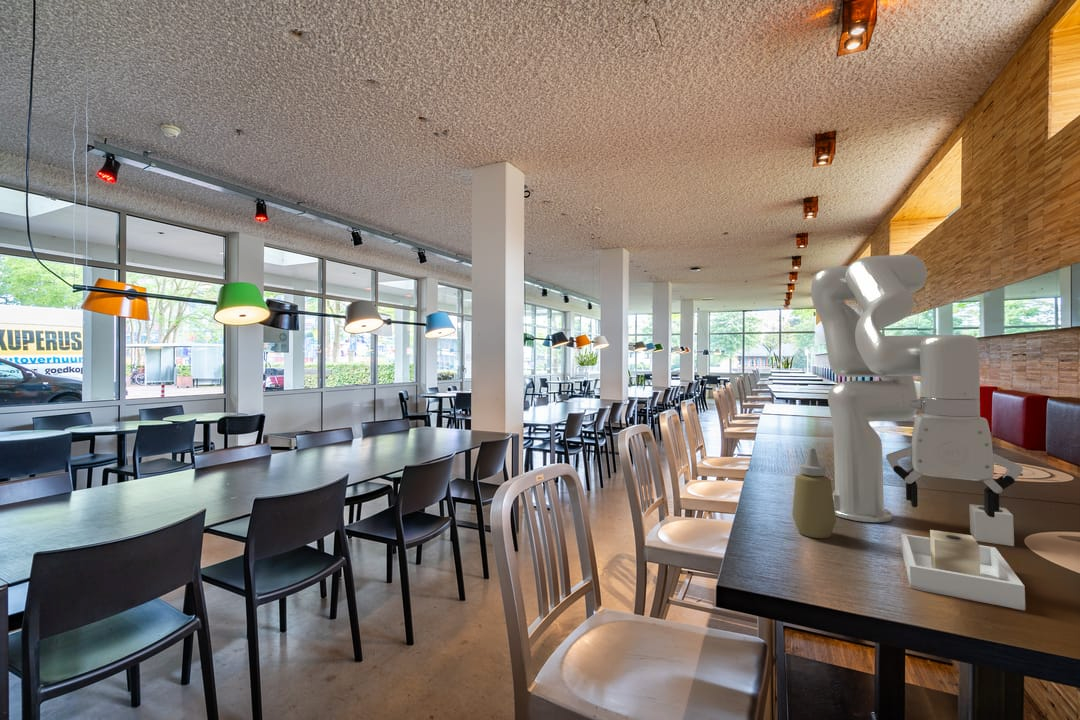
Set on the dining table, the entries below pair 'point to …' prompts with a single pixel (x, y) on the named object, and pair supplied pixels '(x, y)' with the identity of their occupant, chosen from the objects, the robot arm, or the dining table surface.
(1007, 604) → the tray
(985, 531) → the grey block
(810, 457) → the squeeze bottle
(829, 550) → the dining table surface
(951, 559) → the ash block
